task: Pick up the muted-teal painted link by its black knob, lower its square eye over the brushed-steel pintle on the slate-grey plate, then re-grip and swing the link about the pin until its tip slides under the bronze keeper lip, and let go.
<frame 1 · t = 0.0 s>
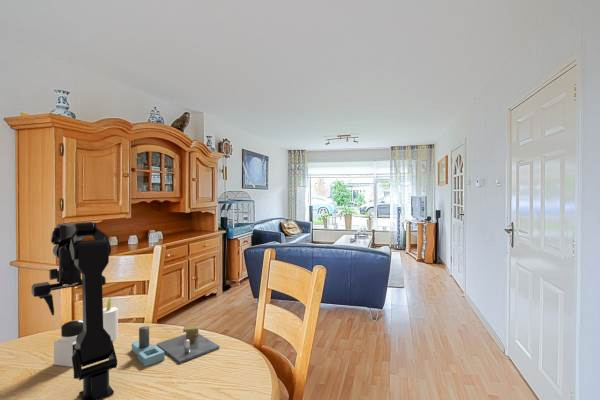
hand: (70, 311, 104), 15 cm above the table, fingers open, 9 cm apart
base plate: (187, 347, 110), on the table
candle: (107, 339, 116), on the table
medicine bottle: (73, 361, 101), on the table
link: (138, 348, 110), on the table
pintle: (187, 354, 105), resting on base plate
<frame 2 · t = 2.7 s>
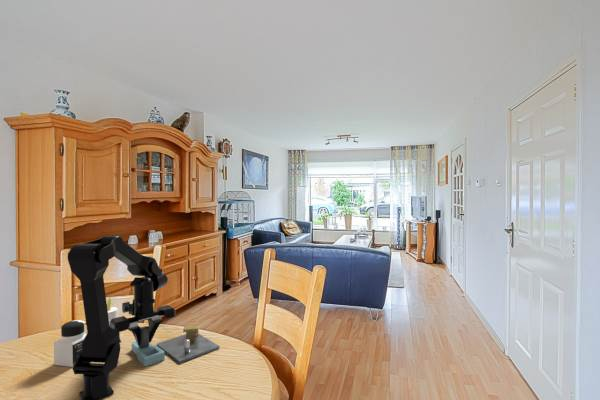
hand: (144, 343, 106), 3 cm above the table, fingers closed on link, 3 cm apart
link: (138, 348, 110), on the table, touching gripper
everything else where it was.
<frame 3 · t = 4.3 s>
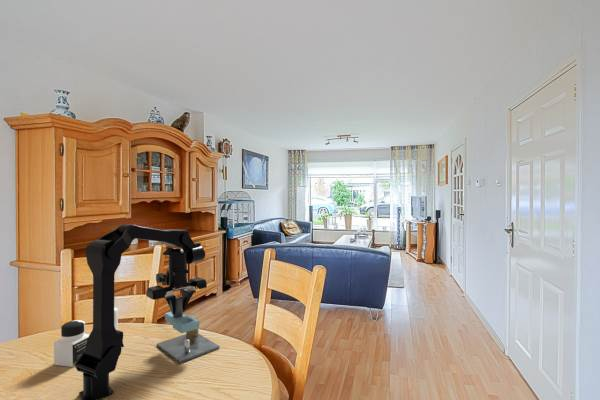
hand: (178, 313, 109), 12 cm above the table, fingers closed on link, 3 cm apart
link: (170, 318, 113), point 9 cm above the table, touching gripper
everything else where it was.
when the fingers open (5 cm above the table, at t = 5.8 s): link stays where it is, resting on base plate.
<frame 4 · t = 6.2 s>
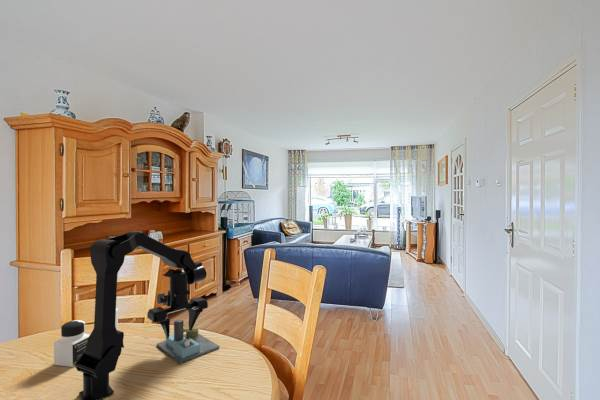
hand: (179, 333, 109), 5 cm above the table, fingers open, 8 cm apart
link: (171, 341, 113), point 1 cm above the table, touching base plate
everything else where it was.
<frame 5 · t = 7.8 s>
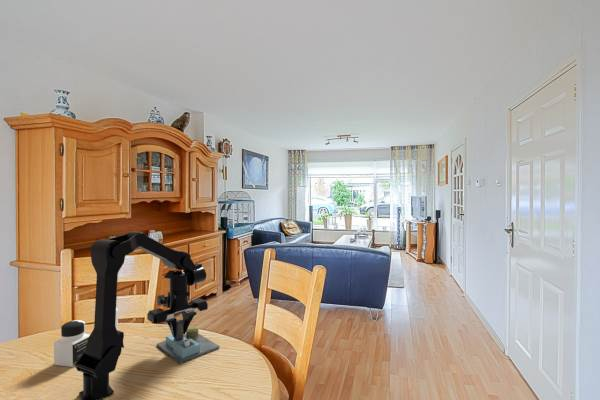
hand: (179, 335, 109), 5 cm above the table, fingers closed on link, 3 cm apart
link: (171, 341, 113), point 1 cm above the table, touching base plate, gripper
everything else where it was.
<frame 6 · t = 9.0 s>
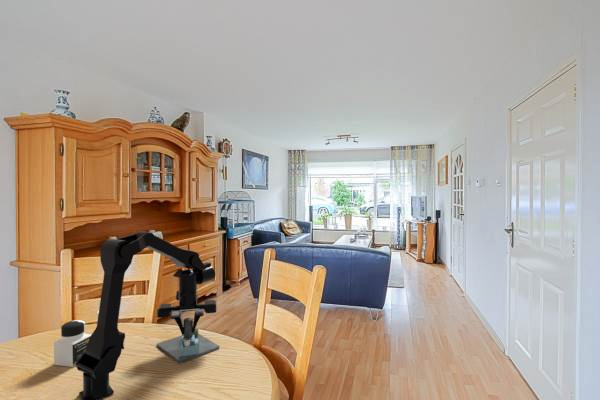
hand: (188, 333, 111), 5 cm above the table, fingers closed on link, 3 cm apart
link: (187, 337, 116), point 1 cm above the table, touching gripper
everything else where it was.
when the fingers open (5 cm above the table, at t = 9.3 s): link stays where it is, resting on base plate.
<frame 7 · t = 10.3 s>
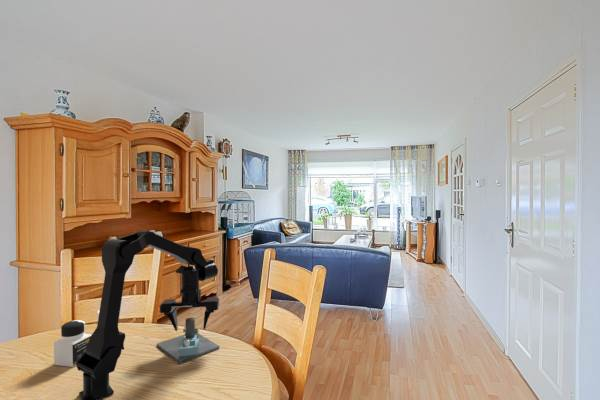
hand: (190, 329, 111), 6 cm above the table, fingers open, 9 cm apart
link: (191, 336, 116), point 1 cm above the table, touching base plate
everything else where it was.
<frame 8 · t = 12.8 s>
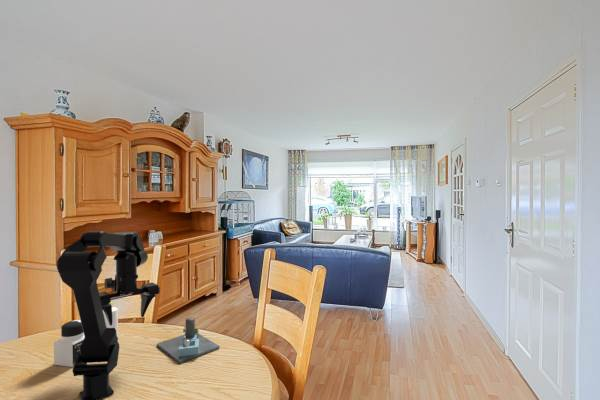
hand: (127, 320, 102), 12 cm above the table, fingers open, 9 cm apart
nothing on the table moved.
at the end: link 0.8 cm from the target spot on the base plate, point 0.8 cm above the base plate's base; link 11.4 cm from the pintle (horizontally); the gripper is holding nothing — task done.
